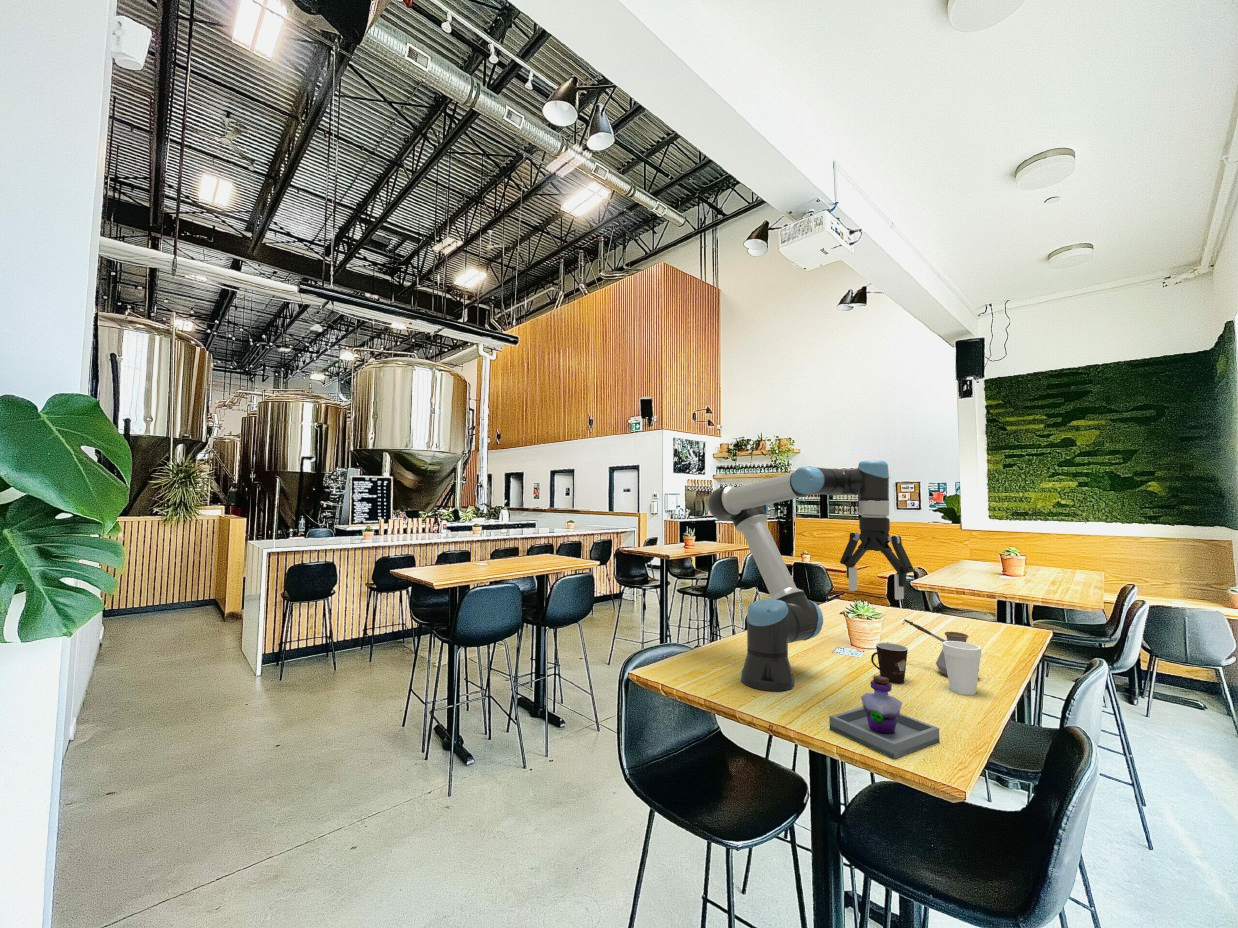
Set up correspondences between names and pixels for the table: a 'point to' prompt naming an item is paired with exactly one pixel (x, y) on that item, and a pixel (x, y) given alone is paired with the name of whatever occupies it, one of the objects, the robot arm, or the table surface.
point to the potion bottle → (881, 706)
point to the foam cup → (962, 666)
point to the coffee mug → (891, 661)
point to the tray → (902, 742)
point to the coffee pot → (950, 637)
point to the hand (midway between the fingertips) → (875, 594)
